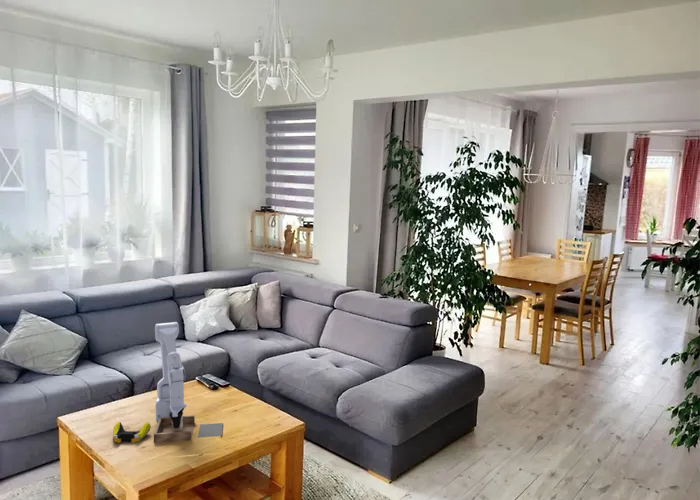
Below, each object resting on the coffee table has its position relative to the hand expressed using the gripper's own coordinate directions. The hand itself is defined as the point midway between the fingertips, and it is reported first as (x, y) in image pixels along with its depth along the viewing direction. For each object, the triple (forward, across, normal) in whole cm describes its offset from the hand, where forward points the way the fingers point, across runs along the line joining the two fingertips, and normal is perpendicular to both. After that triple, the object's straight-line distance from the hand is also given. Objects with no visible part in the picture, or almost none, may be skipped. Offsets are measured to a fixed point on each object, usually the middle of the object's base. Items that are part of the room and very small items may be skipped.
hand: (177, 425), depth 229 cm
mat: (+4, 0, -14) cm, 14 cm away
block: (+2, 0, 0) cm, 2 cm away
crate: (+4, 0, 0) cm, 4 cm away
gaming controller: (+4, -2, +19) cm, 19 cm away
